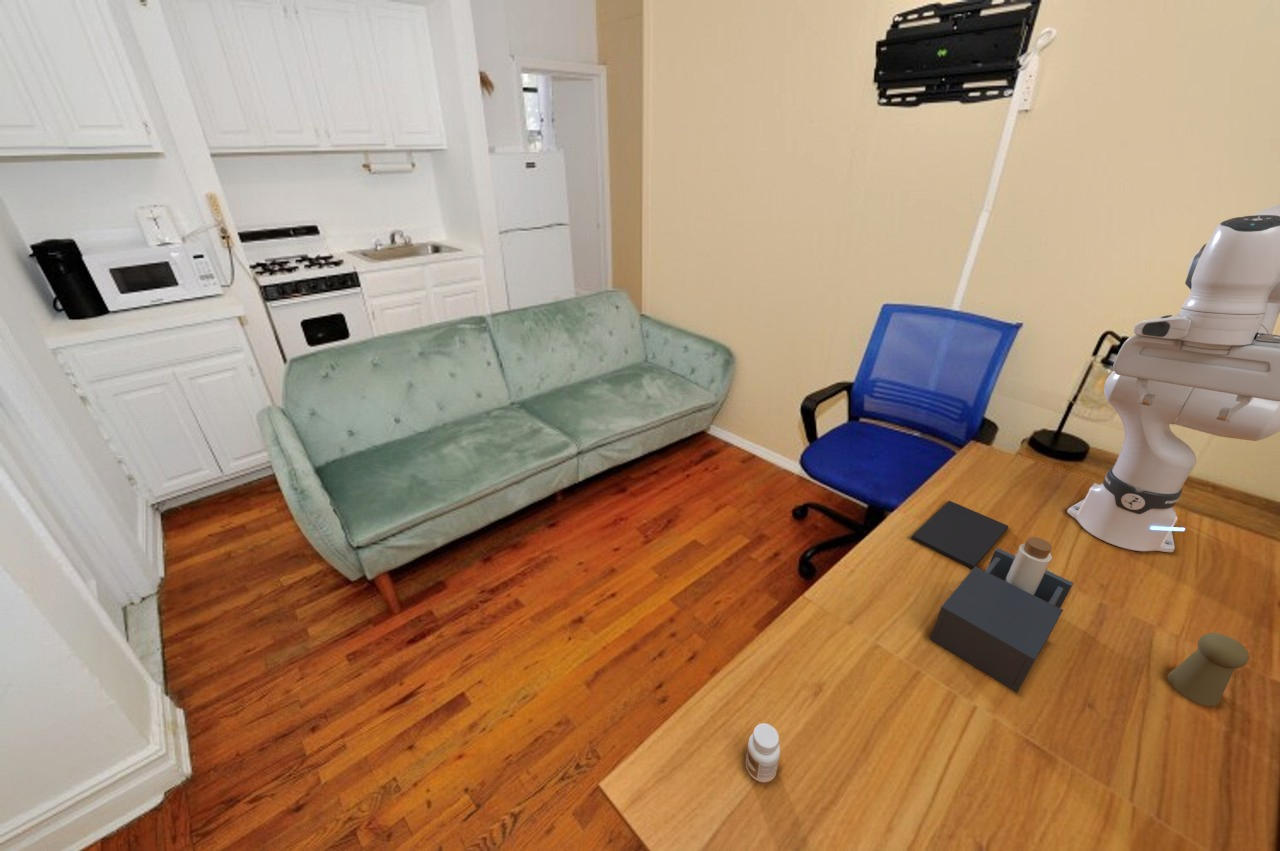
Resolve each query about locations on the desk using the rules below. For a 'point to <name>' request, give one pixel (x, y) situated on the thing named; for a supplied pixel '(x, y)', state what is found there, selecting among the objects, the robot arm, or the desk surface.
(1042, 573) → the pepper mill
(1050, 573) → the drawer
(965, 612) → the cabinet
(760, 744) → the pill bottle
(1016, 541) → the desk surface
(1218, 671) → the cork
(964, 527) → the mat
